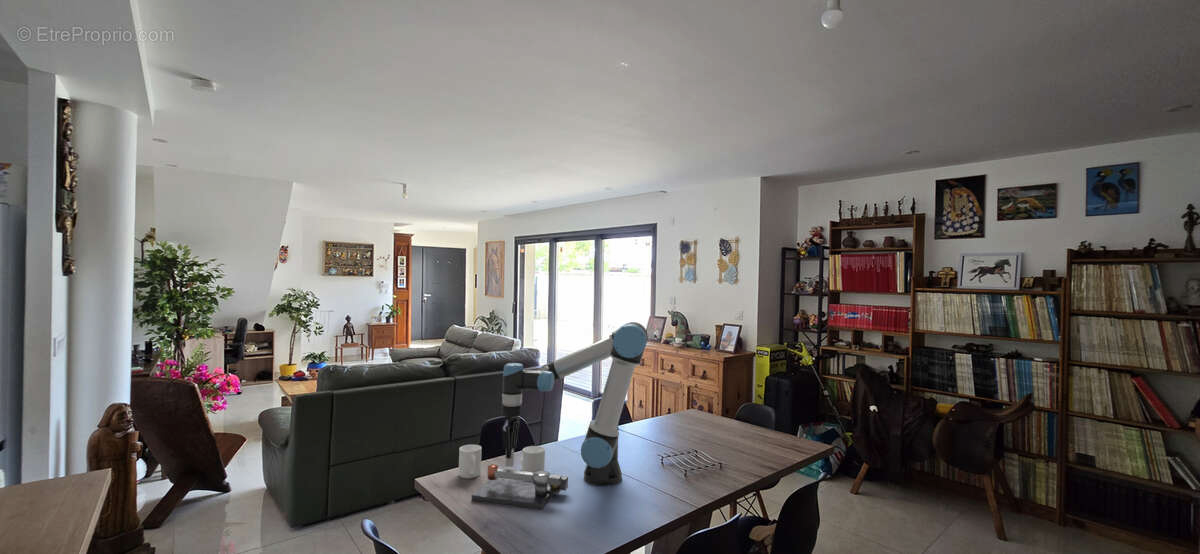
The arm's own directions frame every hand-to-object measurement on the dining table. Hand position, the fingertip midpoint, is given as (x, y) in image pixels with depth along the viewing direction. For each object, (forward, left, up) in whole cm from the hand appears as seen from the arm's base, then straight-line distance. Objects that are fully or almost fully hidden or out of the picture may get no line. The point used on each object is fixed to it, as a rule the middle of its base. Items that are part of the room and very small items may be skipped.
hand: (509, 465), depth 188 cm
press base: (-9, +9, -7) cm, 14 cm away
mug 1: (+18, -3, -7) cm, 19 cm away
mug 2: (-3, -15, -7) cm, 17 cm away
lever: (-9, +9, -2) cm, 13 cm away
